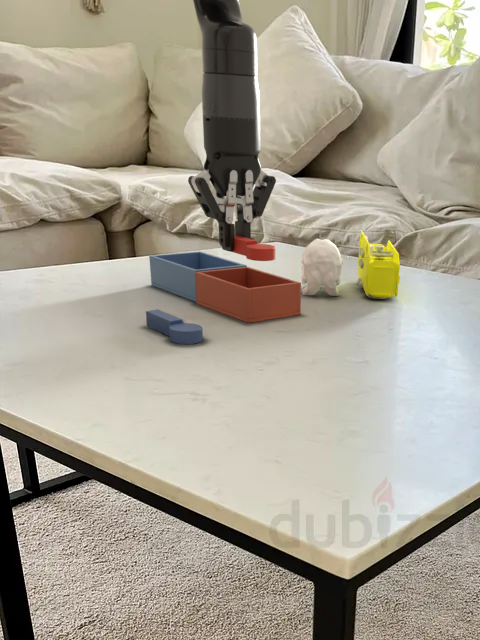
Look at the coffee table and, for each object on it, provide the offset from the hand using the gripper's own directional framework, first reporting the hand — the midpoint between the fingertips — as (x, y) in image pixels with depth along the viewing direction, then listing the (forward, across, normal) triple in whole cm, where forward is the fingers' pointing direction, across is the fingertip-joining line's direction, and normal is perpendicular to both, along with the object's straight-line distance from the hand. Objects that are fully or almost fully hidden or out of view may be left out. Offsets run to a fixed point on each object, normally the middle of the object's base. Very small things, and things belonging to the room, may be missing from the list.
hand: (235, 249), depth 111 cm
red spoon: (0, 0, +3) cm, 3 cm away
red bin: (+8, 0, +3) cm, 8 cm away
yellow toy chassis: (+8, -26, +3) cm, 27 cm away
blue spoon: (+8, +16, +9) cm, 20 cm away
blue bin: (+8, 0, -10) cm, 13 cm away
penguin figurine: (+8, -17, -1) cm, 19 cm away
